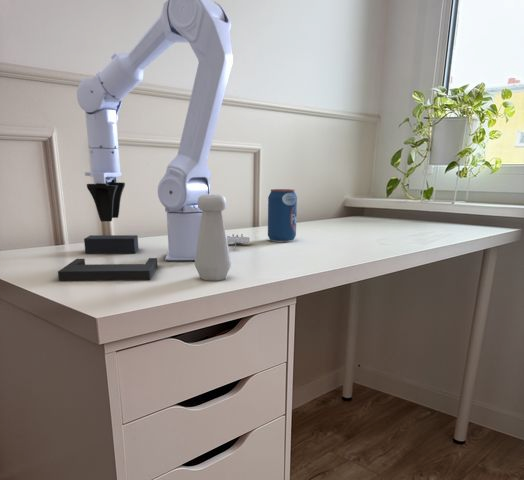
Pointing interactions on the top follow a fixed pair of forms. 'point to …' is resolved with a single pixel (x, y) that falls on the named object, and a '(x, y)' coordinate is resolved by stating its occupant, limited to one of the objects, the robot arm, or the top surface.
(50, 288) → the top surface
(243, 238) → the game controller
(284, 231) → the soda can
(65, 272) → the black pad
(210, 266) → the salt shaker
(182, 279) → the top surface
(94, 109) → the robot arm
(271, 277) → the top surface
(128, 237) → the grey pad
